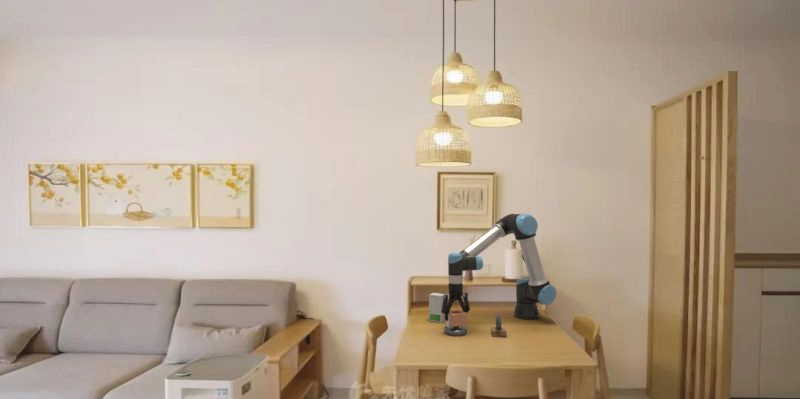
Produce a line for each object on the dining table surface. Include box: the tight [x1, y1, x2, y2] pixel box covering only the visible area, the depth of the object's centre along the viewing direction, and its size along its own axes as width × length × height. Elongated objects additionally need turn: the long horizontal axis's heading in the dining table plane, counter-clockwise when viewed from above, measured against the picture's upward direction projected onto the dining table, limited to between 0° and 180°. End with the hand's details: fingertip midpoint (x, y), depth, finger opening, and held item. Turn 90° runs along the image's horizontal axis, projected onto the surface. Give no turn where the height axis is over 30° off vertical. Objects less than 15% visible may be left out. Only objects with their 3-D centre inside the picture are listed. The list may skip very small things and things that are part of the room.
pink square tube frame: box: [443, 309, 469, 327], centre depth 223 cm, size 9×9×6 cm
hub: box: [443, 325, 468, 337], centre depth 223 cm, size 12×12×10 cm
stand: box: [490, 314, 508, 338], centre depth 219 cm, size 7×7×10 cm
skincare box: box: [428, 292, 445, 323], centre depth 248 cm, size 8×7×16 cm
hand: (455, 325), depth 223 cm, fingers closed on pink square tube frame, 9 cm apart
